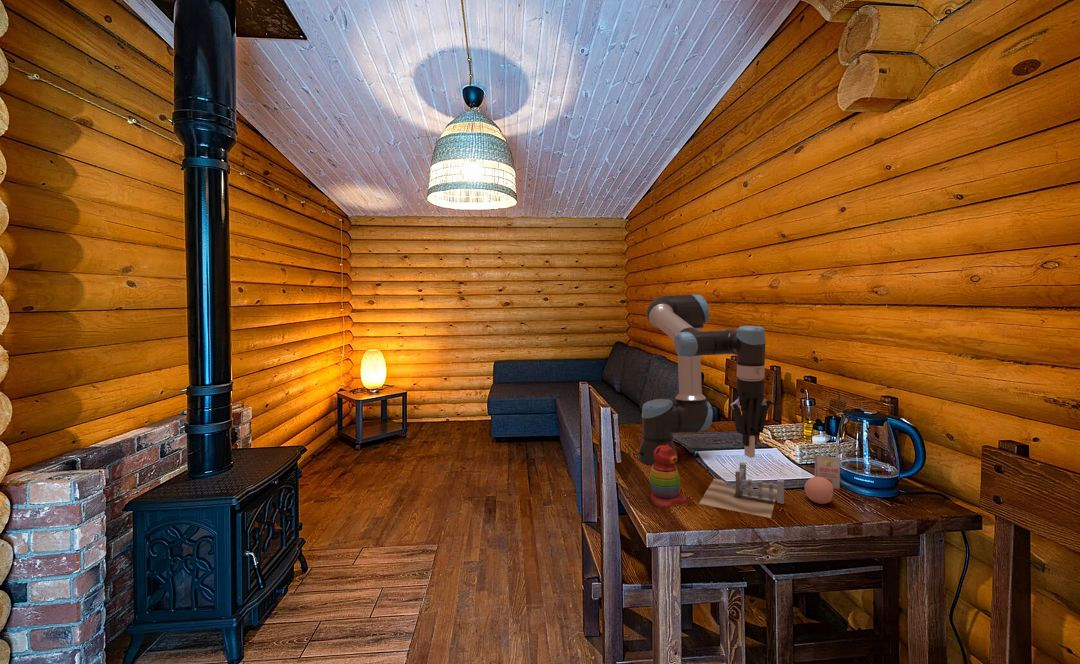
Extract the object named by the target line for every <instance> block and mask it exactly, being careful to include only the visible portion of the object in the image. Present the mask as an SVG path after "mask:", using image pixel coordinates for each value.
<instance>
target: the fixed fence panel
mask: <svg viewBox="0 0 1080 664" xmlns="http://www.w3.org/2000/svg"><path fill="white" fill-rule="evenodd" d="M738 465H739V470H736V471H735V473H734V474H735V482H736V497H740V493H741V492H742V490H743V487H744V485H743V480H747V463H746V462H739V464H738Z"/></svg>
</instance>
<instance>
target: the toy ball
mask: <svg viewBox="0 0 1080 664" xmlns="http://www.w3.org/2000/svg"><path fill="white" fill-rule="evenodd" d="M834 490H835V489H834V488H833V485H832V483H831V482H830V481H828V480H827V479H825V478H823V477H815V476H812V477H810V478H809V479H807V480H806V481H805V484H804V493H805V495H806V496H807V498H808V499H810V501H811V502H813V503H816V504H819V505H825V504H828V503H831V501H832V500H833V496H834Z"/></svg>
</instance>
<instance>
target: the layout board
mask: <svg viewBox="0 0 1080 664" xmlns="http://www.w3.org/2000/svg"><path fill="white" fill-rule="evenodd" d="M723 480H724V479H720V478H719V479H718V478H713V480H712V481H711V483H710V484H709V486H708V488H707V489H706V491H705V493H704V494H703V495H702V498H701V499H700V501H699V503H698V504H699V505H703V506H709V507H714V508H718V509H724V510H729V511H733V512H739V513H743V514H749V515H754V516H758V517H764V518H769V519H772V515H773V512H774V506H775V504H776V500H774V499H773V502H771V501H769V499H768V498H762V500H758V497H755V496H752V497H751V498H748V495H743V490H742V492H741V493H740V497H736V487H733V486H729V485H727V484H726V483H725V482H724V481H723ZM743 489H744V490H748V489H745V488H743ZM752 491H757V492H758V489H752ZM762 492H764V493H769V488H762ZM773 494H777V490H775V489H773Z"/></svg>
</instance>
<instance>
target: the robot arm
mask: <svg viewBox="0 0 1080 664" xmlns="http://www.w3.org/2000/svg"><path fill="white" fill-rule="evenodd" d="M709 308H710V307H709V306H708V302H707V301H706V299H705V298H704V297H703V296H702V295H700V294H692V293H691V294H690V293H689V294H675V295H672V294H671V295H668V294H667V295H666V294H665V295H662V296H657V297H656V298H654V299H653V300H652V301H651V302H650V303H649V304H648V305H647V308H646V311H645V312H646V313H645V315H646V319H647V321H648V323H649V324H650V325H652V326H653V327H654V328H656V329H660V330H661V331H662V332H663V333H664V334H666V336H668V337H669V338H670V339H671V340H672V341H673V347H674V350H675V353H676V355H677V370H678V372H677V373H678V377H677V378H678V394H676V396H675V399H674V400H675V402H673V400H671V399H670V398H669V399H668V398H656V399H655V398H654V399H652V400H649V401H646V402H644V403H643V404H642V407H641V409H642V410H641V426H642V427H641V429H642V433H641V434H642V440H641V443H640V447H639V450H638V454H637V455H638V460H639V461H640V462H641V463H643V464H646V465H648V466H649V465H650V466H653V464H654V463H655V462H656V461H655V459H654V450H655V449H656V448H657V447H658V446H661V445H667V444H670V445H671V448H673V450H674V451H675V453H676V454H677V460H676V462H675V464H677V463H678V462H679V461H678V459H679V458H678V457H679V456H678V455H679V454H678V452H677V449H676V445H675V444H674V439H673V438H674V437H673V436H674V434H676V433H693V432H695V433H698V432H703V431H707V430H709V428H710V427H711V425H712V423H713V418H714V416H713V415H714V414H713V409H712V408H713V407H712V405H711V403H710V402H709V401H707V397H706V396H705V395H704V394H703V393H702V392H703V391H702V389H703V388H702V365H701V363H702V362H701V356H702V357H703V356H716V355H717V356H718V355H720V356H721V355H723V356H724V355H735V356H736V377H737V379H736V392H737V395H736V400H734V402H729V404H728V405H729V408H730V409H731V412H732V416H733V421H734V426H735V430H736V433H738V434H741V436H742V445H743V446H744V448H743V449H744V451H743V452H744V454H743V455H744V456H746V457H749V458H751V459H752V458H755V456H756V454H755V453H756V446H757V444H758V443H757V442H758V441H757V440H758V439H757V438H758V437H759V436H760V433H763V432H764V429H765V426H766V425H765V424H766V419H767V416H768V412H769V408H770V407H771V404H772V401H771V400H769V399H766V398H765V394H764V392H765V387H766V386H765V380H764V379H765V375H766V374H765V373H766V372H765V371H766V364H765V363H766V342H767V339H766V330H765V328H764V327H763V326H759V325H758V326H755V325H742V326H739V327H738V328H737V329H733V328H725V329H722V330H706V331H705V330H704V325H706V323H707V322H709V318H710V310H709ZM703 330H704V331H703Z"/></svg>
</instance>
